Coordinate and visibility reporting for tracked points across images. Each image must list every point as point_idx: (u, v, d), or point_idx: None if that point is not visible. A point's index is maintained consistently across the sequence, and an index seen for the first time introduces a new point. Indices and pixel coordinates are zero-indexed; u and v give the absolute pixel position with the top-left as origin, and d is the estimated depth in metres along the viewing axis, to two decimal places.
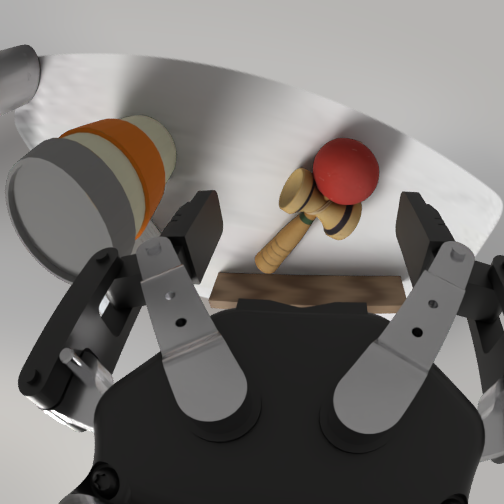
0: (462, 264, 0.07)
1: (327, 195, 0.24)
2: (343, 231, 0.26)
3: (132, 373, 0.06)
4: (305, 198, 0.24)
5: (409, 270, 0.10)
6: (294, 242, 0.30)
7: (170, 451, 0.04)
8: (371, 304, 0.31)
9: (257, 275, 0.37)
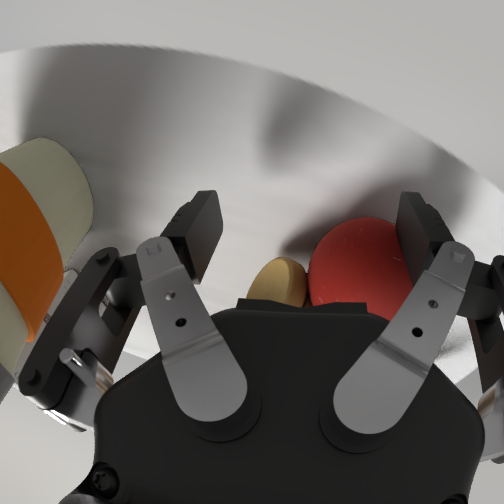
0: (462, 264, 0.07)
1: None
2: None
3: (132, 373, 0.06)
4: None
5: (409, 270, 0.10)
6: None
7: (170, 451, 0.04)
8: None
9: None
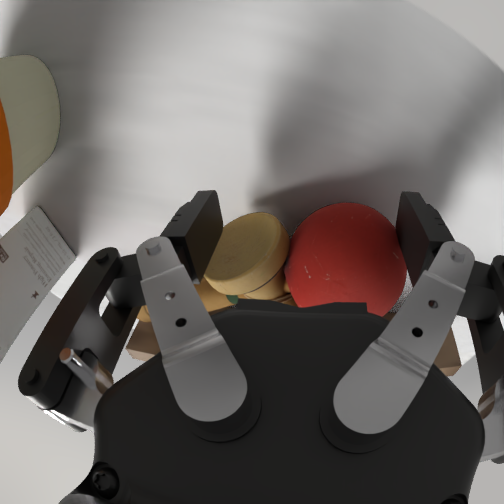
0: (462, 264, 0.07)
1: (297, 298, 0.13)
2: None
3: (132, 373, 0.06)
4: (256, 287, 0.12)
5: (409, 270, 0.10)
6: None
7: (170, 451, 0.04)
8: None
9: None
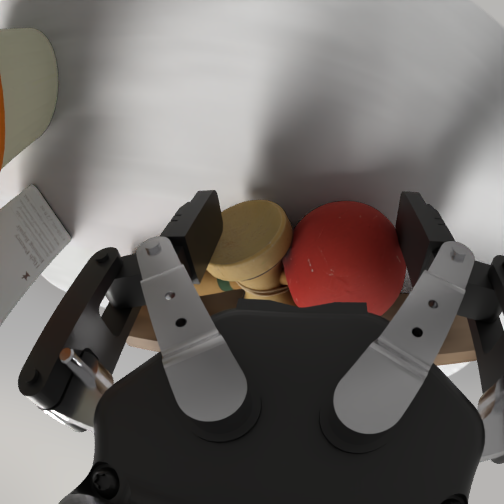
0: (462, 264, 0.07)
1: (294, 291, 0.12)
2: None
3: (132, 373, 0.06)
4: (255, 275, 0.12)
5: (409, 270, 0.10)
6: None
7: (170, 451, 0.04)
8: None
9: None
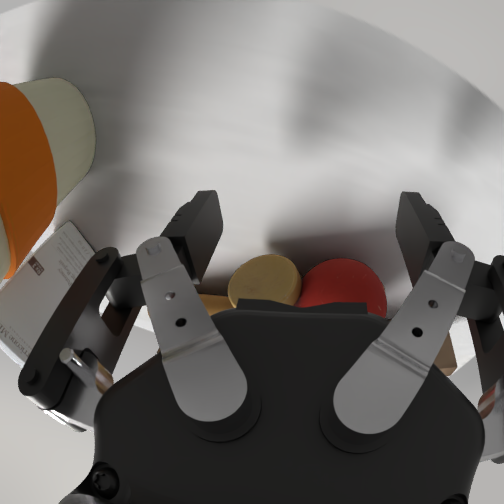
0: (462, 264, 0.07)
1: None
2: None
3: (132, 373, 0.06)
4: None
5: (409, 270, 0.10)
6: None
7: (170, 451, 0.04)
8: None
9: None
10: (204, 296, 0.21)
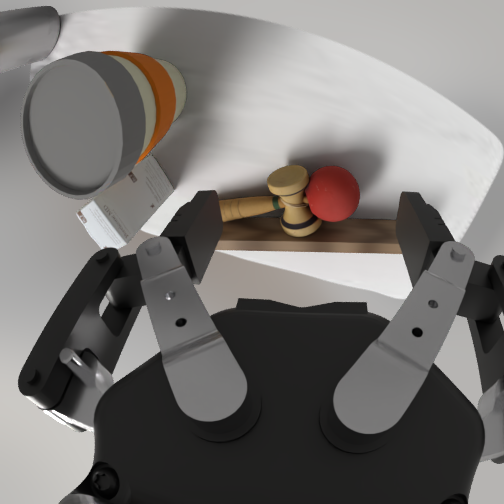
0: (462, 264, 0.07)
1: (310, 201, 0.29)
2: (298, 231, 0.31)
3: (132, 373, 0.06)
4: (295, 192, 0.28)
5: (409, 270, 0.10)
6: (252, 213, 0.33)
7: (170, 451, 0.04)
8: (381, 242, 0.30)
9: (263, 218, 0.36)
10: (247, 197, 0.33)
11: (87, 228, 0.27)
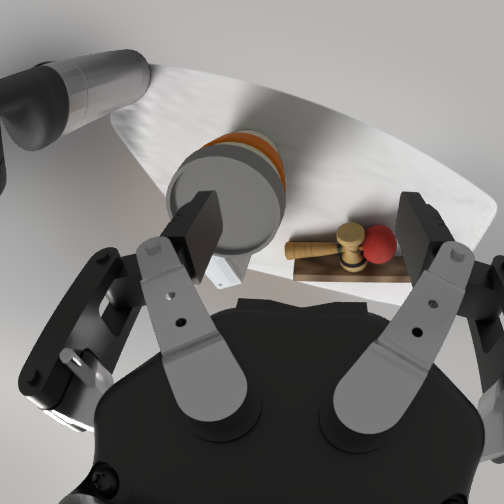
0: (462, 264, 0.07)
1: (366, 250, 0.41)
2: (353, 269, 0.44)
3: (132, 373, 0.06)
4: (357, 245, 0.40)
5: (409, 270, 0.10)
6: (321, 255, 0.45)
7: (170, 451, 0.04)
8: None
9: (325, 256, 0.48)
10: (317, 242, 0.45)
11: (206, 270, 0.39)
